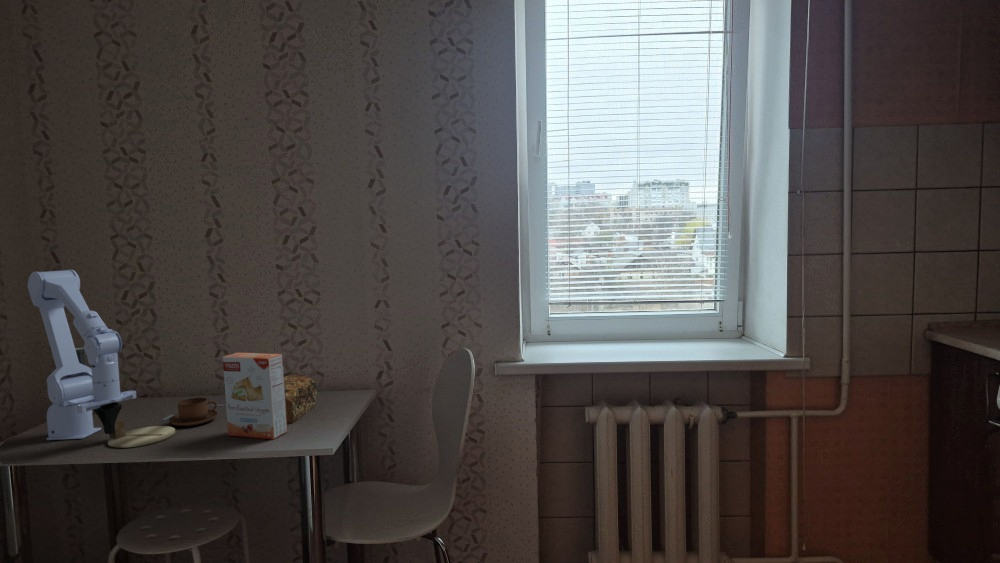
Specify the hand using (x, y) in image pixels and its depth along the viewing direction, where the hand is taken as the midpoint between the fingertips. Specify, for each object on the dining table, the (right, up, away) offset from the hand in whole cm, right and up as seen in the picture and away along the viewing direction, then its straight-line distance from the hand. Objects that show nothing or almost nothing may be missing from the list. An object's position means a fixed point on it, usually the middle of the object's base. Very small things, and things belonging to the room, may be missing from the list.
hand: (109, 433), depth 153 cm
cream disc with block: (+7, -2, +2) cm, 7 cm away
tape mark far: (+13, 0, +31) cm, 34 cm away
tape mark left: (+3, -1, +20) cm, 21 cm away
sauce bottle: (-26, -1, +28) cm, 38 cm away
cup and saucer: (+14, -1, +15) cm, 21 cm away
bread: (+39, 0, +20) cm, 43 cm away
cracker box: (+37, -1, +2) cm, 37 cm away
